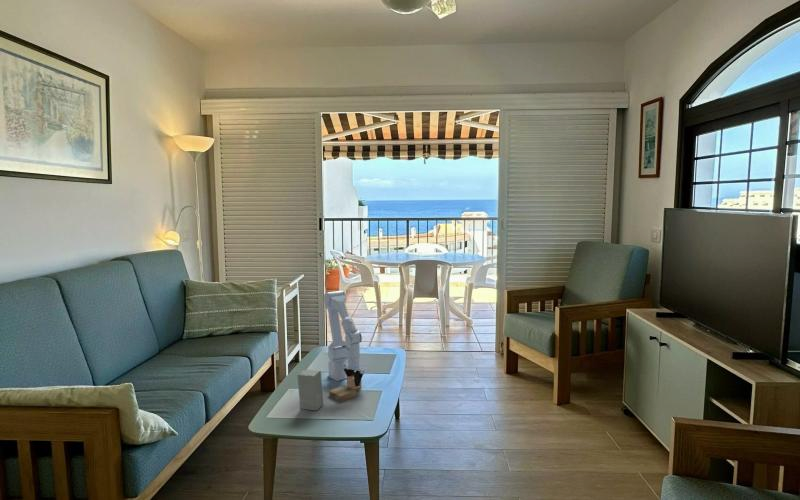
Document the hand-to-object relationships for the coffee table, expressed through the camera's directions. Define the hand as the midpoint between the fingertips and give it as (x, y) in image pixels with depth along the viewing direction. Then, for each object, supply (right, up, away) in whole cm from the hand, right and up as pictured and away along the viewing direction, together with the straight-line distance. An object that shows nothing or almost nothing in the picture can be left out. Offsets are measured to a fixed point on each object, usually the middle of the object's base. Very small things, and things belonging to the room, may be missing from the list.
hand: (354, 384), depth 220 cm
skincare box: (-17, -4, -22) cm, 28 cm away
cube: (0, -1, 0) cm, 1 cm away
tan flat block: (-4, -3, -10) cm, 11 cm away
